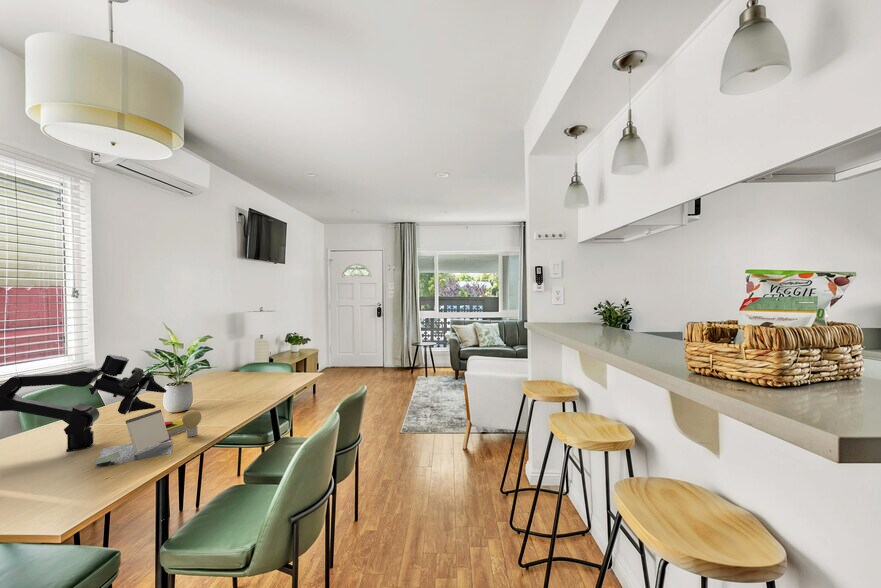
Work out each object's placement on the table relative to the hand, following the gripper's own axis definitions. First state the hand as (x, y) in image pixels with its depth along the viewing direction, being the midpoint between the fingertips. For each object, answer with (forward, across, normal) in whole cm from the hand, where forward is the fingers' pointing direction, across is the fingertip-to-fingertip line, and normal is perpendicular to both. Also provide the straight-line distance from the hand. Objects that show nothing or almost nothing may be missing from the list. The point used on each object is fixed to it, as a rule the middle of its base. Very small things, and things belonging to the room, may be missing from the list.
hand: (160, 399), depth 155 cm
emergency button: (+8, -1, +15) cm, 17 cm away
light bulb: (+16, -7, +7) cm, 19 cm away
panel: (+3, -21, +6) cm, 22 cm away
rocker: (-3, -29, +4) cm, 29 cm away
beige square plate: (+6, -21, 0) cm, 22 cm away
